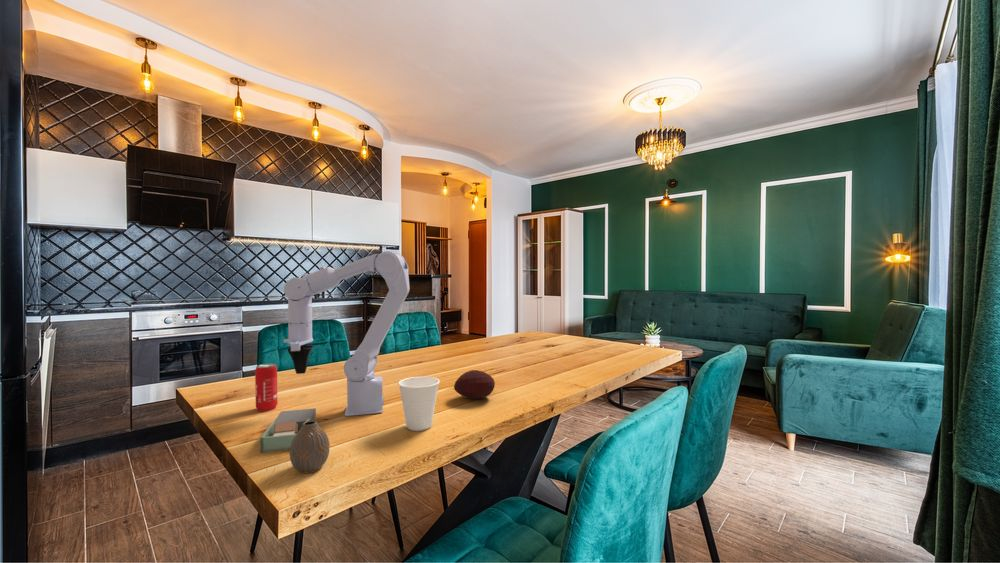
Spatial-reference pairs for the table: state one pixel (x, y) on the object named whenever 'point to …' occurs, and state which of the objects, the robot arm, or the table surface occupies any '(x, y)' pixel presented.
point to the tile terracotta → (286, 427)
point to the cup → (419, 401)
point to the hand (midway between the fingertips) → (300, 373)
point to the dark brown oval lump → (474, 384)
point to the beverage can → (266, 387)
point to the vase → (309, 448)
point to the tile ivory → (284, 433)
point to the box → (275, 440)
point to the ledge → (296, 416)
